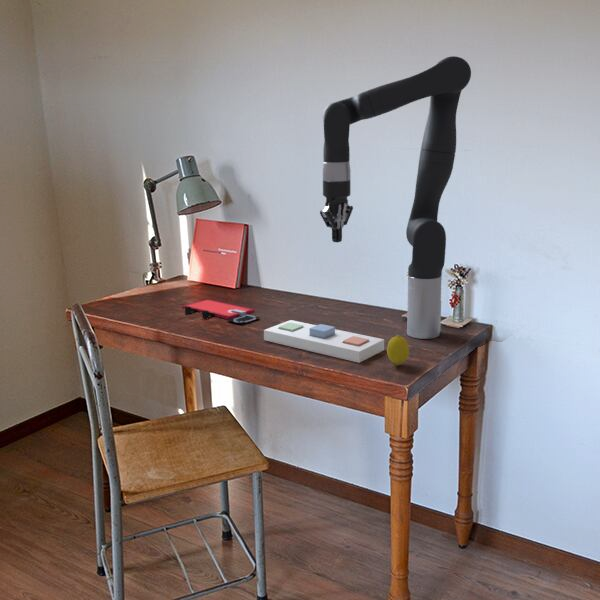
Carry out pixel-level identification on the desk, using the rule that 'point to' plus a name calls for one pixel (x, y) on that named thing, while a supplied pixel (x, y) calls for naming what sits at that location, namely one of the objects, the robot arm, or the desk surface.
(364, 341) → the terracotta button
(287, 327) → the sage button
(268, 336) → the button panel
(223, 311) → the red board with handle
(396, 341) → the lemon
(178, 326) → the desk surface
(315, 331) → the slate button
